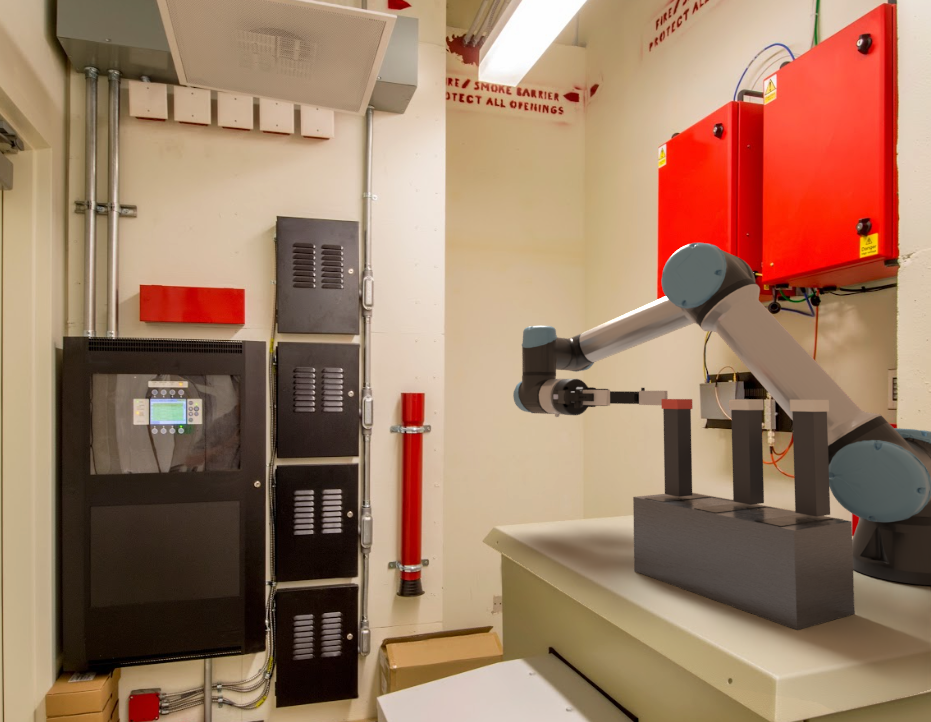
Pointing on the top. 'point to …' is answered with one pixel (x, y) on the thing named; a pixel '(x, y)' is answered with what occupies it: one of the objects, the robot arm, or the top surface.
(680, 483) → the post
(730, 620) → the top surface
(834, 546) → the dark grey block
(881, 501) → the robot arm
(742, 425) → the post
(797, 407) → the post
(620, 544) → the top surface
